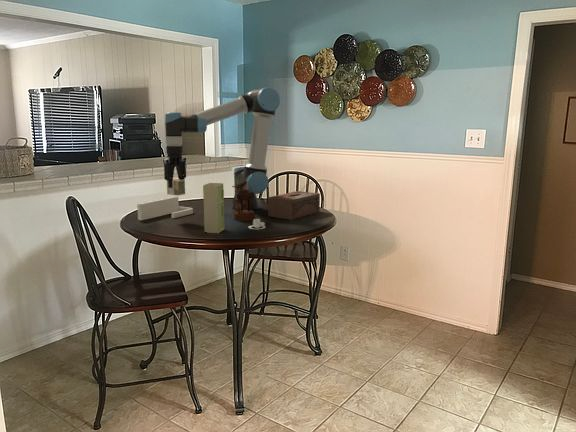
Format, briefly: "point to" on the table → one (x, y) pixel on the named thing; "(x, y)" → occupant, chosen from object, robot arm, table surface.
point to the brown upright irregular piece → (243, 195)
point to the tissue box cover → (293, 204)
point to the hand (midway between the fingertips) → (176, 193)
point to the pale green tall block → (213, 207)
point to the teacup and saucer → (257, 224)
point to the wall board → (162, 208)
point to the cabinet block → (178, 187)
